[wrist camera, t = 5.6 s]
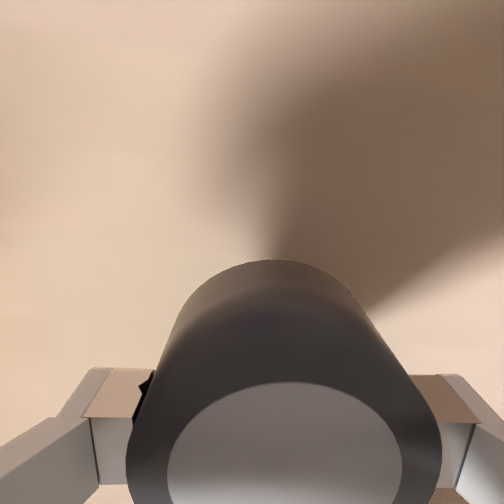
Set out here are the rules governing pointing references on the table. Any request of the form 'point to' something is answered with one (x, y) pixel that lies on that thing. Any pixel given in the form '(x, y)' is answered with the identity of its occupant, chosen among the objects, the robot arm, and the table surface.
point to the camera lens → (280, 401)
